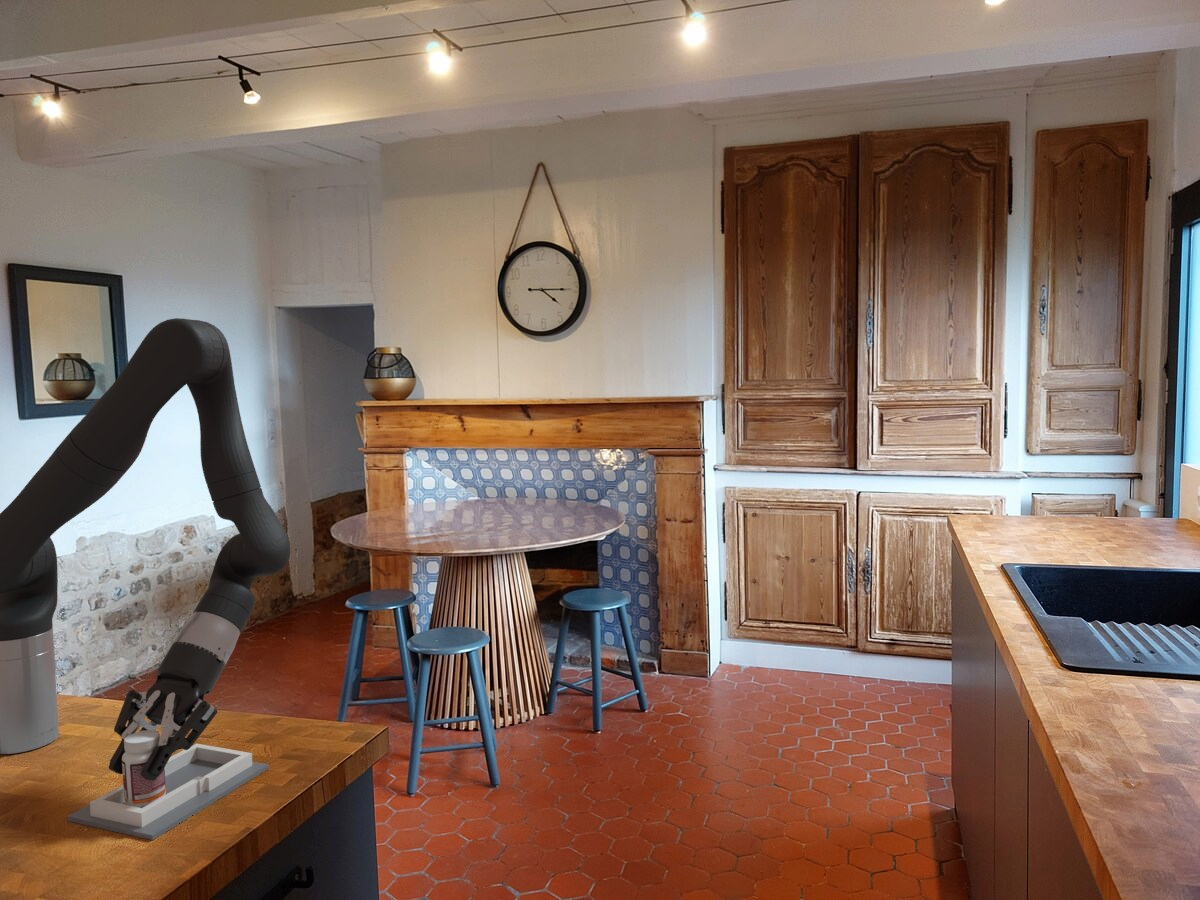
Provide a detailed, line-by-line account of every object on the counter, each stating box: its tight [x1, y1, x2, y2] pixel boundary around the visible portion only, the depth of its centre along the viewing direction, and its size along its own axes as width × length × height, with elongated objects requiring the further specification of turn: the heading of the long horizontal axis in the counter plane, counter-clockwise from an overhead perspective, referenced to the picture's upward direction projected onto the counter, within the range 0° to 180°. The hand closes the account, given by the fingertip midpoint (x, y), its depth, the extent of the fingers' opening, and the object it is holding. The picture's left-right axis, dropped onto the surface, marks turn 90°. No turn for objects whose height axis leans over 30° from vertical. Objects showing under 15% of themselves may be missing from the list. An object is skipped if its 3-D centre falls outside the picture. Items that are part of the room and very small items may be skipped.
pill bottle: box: [122, 730, 166, 807], centre depth 109 cm, size 5×5×8 cm
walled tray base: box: [66, 743, 270, 841], centre depth 114 cm, size 14×20×2 cm
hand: (131, 774), depth 108 cm, fingers closed on pill bottle, 4 cm apart
